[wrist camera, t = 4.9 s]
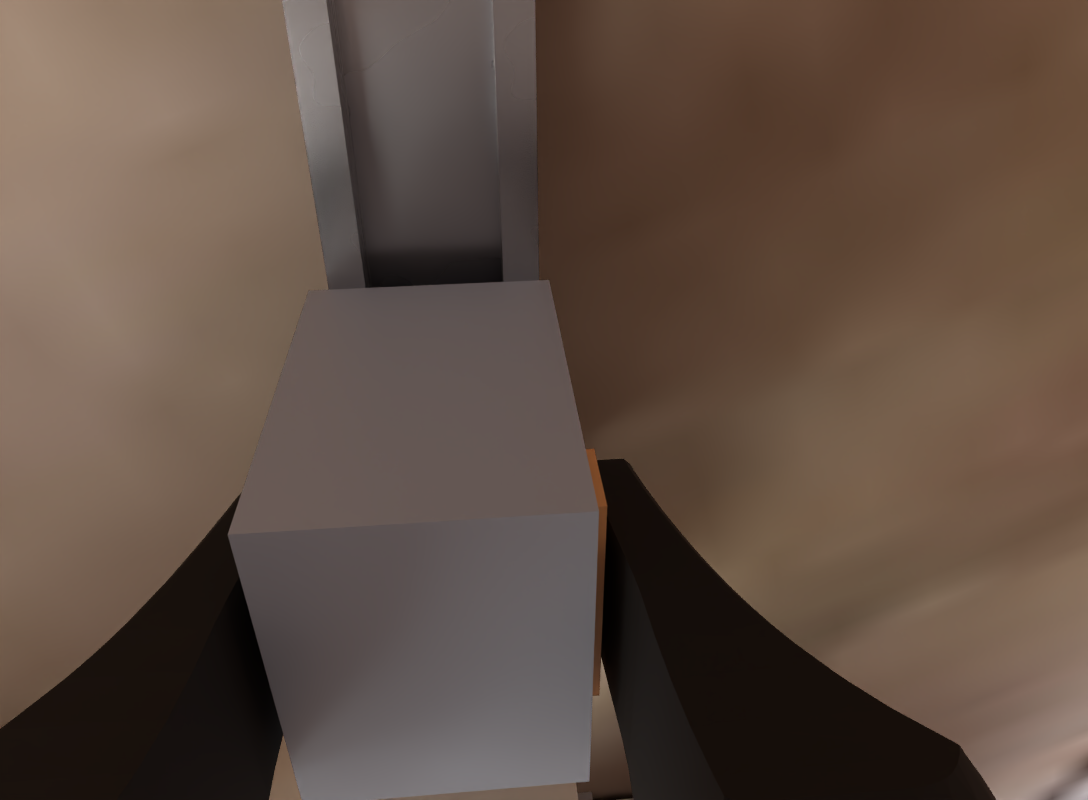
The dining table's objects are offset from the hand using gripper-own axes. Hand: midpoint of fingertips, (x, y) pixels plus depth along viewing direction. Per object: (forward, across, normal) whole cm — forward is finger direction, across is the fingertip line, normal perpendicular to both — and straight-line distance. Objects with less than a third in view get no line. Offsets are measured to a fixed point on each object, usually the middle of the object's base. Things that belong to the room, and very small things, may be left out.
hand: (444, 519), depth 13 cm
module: (+3, 0, 0) cm, 3 cm away
